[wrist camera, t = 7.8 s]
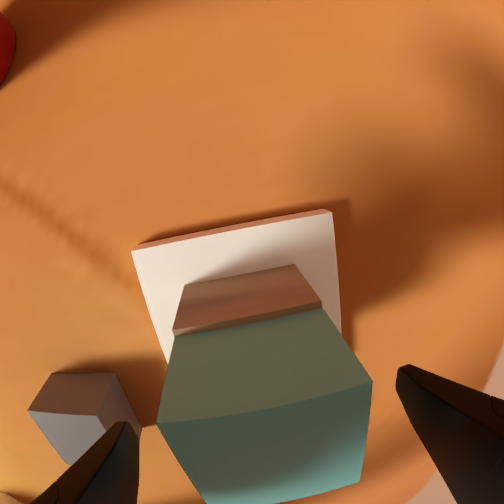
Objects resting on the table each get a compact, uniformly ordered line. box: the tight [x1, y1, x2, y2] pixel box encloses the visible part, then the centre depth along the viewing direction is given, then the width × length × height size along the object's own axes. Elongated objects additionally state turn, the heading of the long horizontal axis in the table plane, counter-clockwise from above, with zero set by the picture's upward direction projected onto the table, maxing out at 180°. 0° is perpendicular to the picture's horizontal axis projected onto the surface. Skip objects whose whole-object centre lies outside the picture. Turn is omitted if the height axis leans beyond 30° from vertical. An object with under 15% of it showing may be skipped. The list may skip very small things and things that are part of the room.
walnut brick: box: [172, 264, 322, 338], centre depth 12 cm, size 5×5×4 cm
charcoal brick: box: [27, 372, 142, 465], centre depth 15 cm, size 5×5×4 cm
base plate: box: [131, 209, 342, 363], centre depth 15 cm, size 9×9×1 cm
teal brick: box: [156, 308, 373, 504], centre depth 9 cm, size 5×5×4 cm
